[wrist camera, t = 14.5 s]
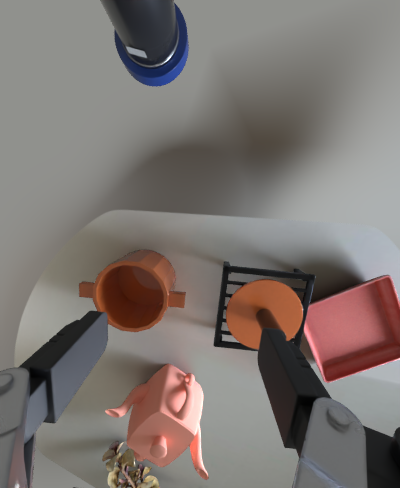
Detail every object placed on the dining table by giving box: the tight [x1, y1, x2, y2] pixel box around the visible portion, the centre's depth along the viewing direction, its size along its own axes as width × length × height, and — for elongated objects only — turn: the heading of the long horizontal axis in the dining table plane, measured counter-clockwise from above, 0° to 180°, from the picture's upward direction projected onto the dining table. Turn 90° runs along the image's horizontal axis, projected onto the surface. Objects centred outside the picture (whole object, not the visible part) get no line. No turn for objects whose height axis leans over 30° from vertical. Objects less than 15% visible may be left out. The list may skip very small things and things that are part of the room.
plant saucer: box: [303, 275, 400, 383], centre depth 39 cm, size 18×18×3 cm
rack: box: [214, 261, 315, 351], centre depth 38 cm, size 16×16×5 cm
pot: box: [79, 250, 186, 332], centre depth 36 cm, size 12×18×8 cm
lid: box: [226, 279, 303, 349], centre depth 32 cm, size 13×13×7 cm
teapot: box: [106, 364, 209, 480], centre depth 39 cm, size 15×17×13 cm
